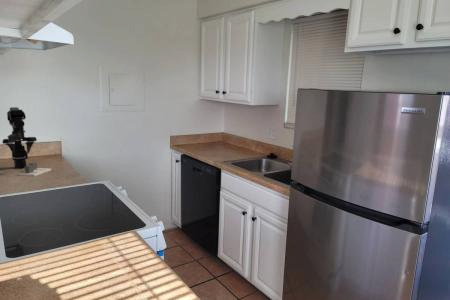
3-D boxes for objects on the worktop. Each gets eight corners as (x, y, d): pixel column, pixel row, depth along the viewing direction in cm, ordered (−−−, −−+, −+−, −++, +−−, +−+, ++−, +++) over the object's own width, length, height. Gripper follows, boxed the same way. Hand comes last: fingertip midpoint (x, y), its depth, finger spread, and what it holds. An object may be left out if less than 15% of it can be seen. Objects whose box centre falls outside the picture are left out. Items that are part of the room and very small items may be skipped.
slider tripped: (25, 172, 210) (24, 166, 210) (29, 171, 214) (29, 165, 213) (29, 172, 210) (28, 166, 209) (33, 171, 214) (33, 165, 213)
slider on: (29, 169, 219) (28, 163, 218) (33, 168, 222) (32, 162, 222) (33, 169, 218) (32, 163, 217) (37, 168, 222) (36, 162, 221)
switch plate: (17, 175, 209) (17, 173, 209) (34, 169, 225) (34, 167, 225) (34, 176, 208) (34, 174, 207) (51, 170, 223) (51, 168, 223)
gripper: (-5, 130, 202) (-2, 155, 203) (25, 127, 202) (28, 153, 203) (7, 130, 213) (9, 154, 214) (35, 128, 213) (38, 152, 214)
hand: (21, 153), depth 211 cm, fingers open, 9 cm apart
